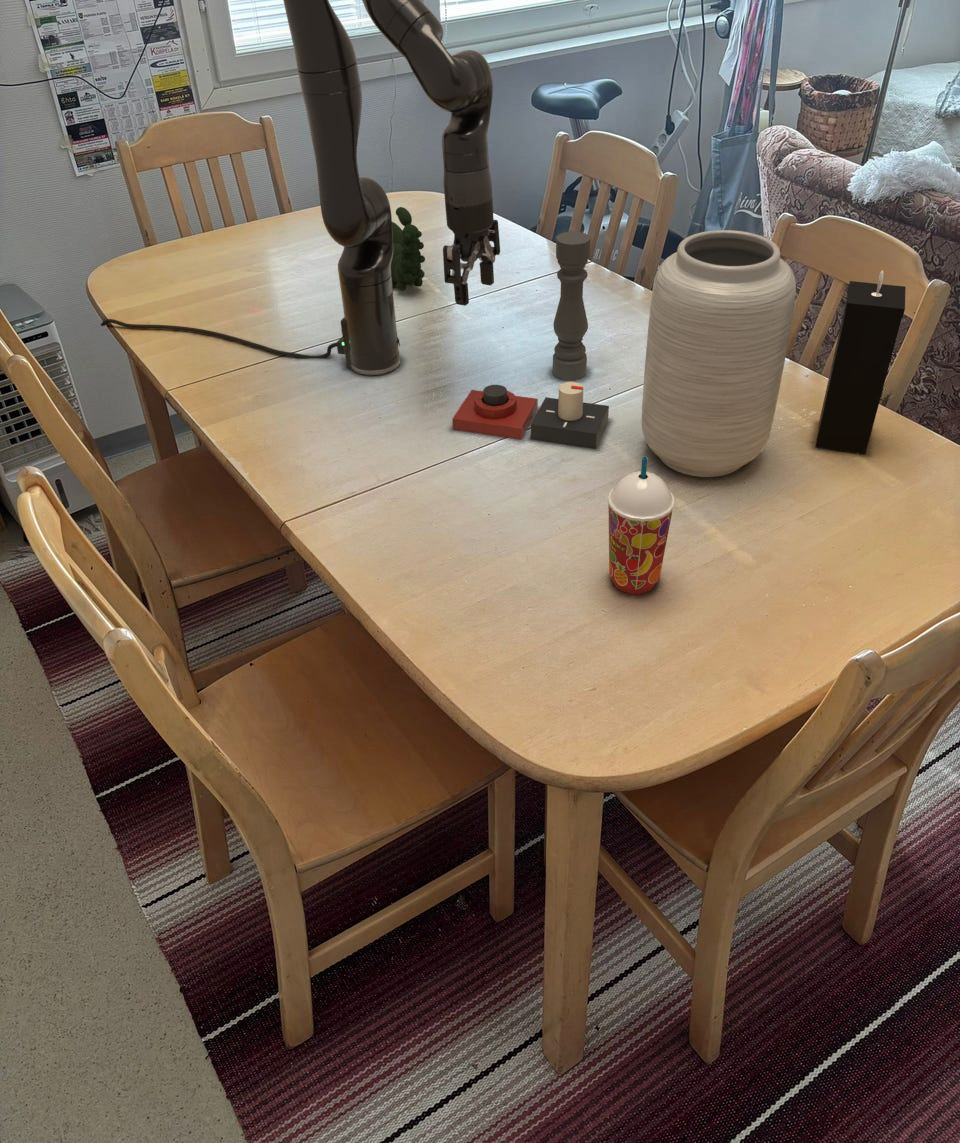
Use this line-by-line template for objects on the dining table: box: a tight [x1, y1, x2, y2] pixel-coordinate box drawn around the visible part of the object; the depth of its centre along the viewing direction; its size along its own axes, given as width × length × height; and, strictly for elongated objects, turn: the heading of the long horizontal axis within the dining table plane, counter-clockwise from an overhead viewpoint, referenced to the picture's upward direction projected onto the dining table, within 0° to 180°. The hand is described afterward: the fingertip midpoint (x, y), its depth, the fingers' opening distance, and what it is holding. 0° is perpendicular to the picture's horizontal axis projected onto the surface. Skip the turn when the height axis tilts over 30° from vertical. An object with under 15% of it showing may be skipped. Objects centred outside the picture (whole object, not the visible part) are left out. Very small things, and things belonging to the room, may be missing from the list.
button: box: [482, 384, 508, 406], centre depth 162 cm, size 4×4×2 cm
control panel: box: [530, 396, 610, 450], centre depth 160 cm, size 11×9×3 cm
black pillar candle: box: [814, 270, 906, 455], centre depth 147 cm, size 8×8×28 cm
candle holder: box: [552, 231, 591, 382], centre depth 168 cm, size 6×6×25 cm
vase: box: [641, 229, 797, 478], centre depth 144 cm, size 20×20×34 cm
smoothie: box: [607, 456, 676, 595], centre depth 125 cm, size 8×8×20 cm
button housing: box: [452, 389, 539, 441], centre depth 163 cm, size 12×10×4 cm
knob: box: [557, 381, 584, 421], centre depth 158 cm, size 4×4×5 cm
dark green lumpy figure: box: [391, 206, 426, 292], centre depth 205 cm, size 9×19×25 cm
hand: (475, 294), depth 162 cm, fingers open, 8 cm apart
